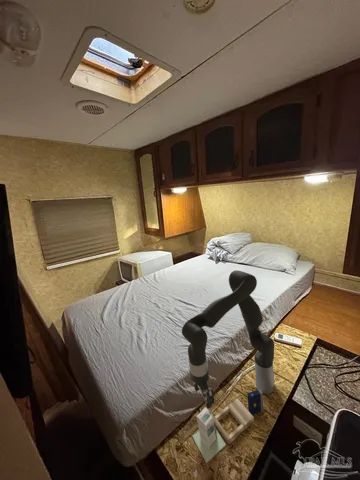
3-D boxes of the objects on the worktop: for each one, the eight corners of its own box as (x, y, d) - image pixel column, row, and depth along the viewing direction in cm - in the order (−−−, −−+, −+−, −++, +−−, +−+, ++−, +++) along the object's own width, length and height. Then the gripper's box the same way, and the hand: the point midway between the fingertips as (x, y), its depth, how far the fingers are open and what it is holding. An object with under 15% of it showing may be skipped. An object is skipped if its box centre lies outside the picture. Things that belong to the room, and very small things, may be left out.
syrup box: (209, 451, 86) (206, 426, 82) (199, 439, 90) (196, 415, 87) (217, 439, 89) (214, 415, 86) (208, 428, 93) (205, 405, 90)
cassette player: (250, 415, 97) (249, 397, 94) (248, 411, 99) (247, 392, 96) (264, 410, 98) (263, 392, 95) (261, 406, 100) (260, 387, 98)
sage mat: (210, 421, 97) (210, 421, 96) (226, 445, 87) (226, 444, 87) (192, 436, 92) (192, 436, 92) (206, 463, 82) (206, 462, 82)
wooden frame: (237, 401, 104) (237, 398, 103) (253, 420, 95) (253, 417, 94) (213, 421, 97) (212, 417, 96) (228, 444, 87) (228, 440, 87)
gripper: (217, 375, 75) (220, 407, 79) (196, 352, 87) (200, 380, 91) (201, 386, 72) (205, 419, 76) (182, 360, 84) (187, 389, 88)
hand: (203, 398), depth 83 cm, fingers open, 8 cm apart
